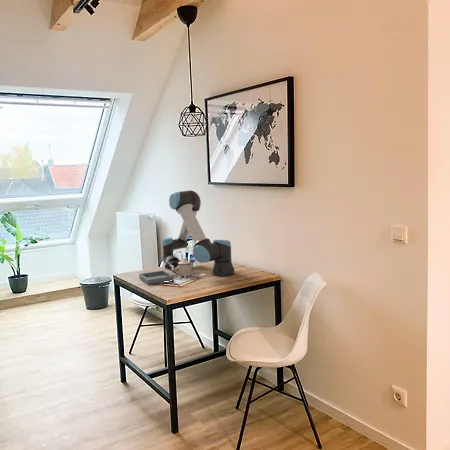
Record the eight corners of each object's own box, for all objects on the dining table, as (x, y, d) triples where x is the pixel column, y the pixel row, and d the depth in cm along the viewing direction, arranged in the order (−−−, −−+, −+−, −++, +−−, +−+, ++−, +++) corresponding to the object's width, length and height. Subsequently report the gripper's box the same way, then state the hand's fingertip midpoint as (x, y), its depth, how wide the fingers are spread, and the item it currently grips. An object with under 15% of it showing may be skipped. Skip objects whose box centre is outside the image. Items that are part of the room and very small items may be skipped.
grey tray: (163, 275, 324) (163, 270, 323) (173, 281, 306) (173, 276, 305) (139, 278, 317) (139, 273, 316) (147, 285, 299) (147, 279, 298)
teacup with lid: (187, 273, 326) (186, 256, 325) (194, 275, 319) (193, 258, 318) (172, 276, 319) (171, 259, 317) (179, 278, 312) (178, 261, 310)
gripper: (189, 264, 342) (200, 269, 323) (156, 269, 332) (165, 275, 313) (189, 254, 341) (200, 259, 322) (155, 258, 331) (165, 263, 312)
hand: (183, 266), depth 317 cm, fingers open, 13 cm apart
